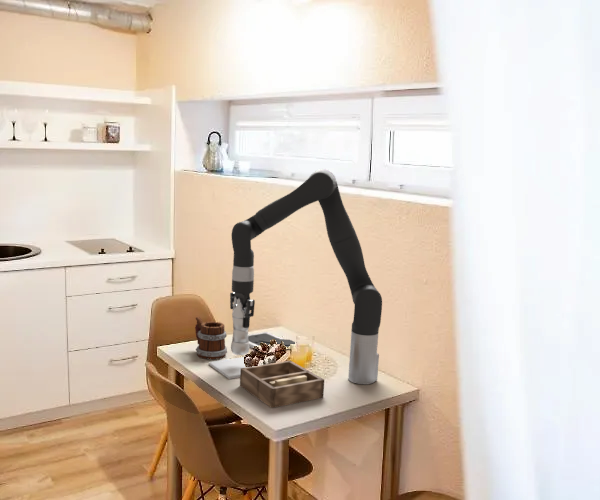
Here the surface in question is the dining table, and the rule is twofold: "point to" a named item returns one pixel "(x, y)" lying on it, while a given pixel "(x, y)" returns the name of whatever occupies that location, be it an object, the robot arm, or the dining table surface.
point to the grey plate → (229, 367)
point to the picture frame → (266, 339)
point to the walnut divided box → (259, 386)
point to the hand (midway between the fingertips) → (241, 324)
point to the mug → (210, 339)
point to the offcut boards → (288, 381)
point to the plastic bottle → (239, 333)
